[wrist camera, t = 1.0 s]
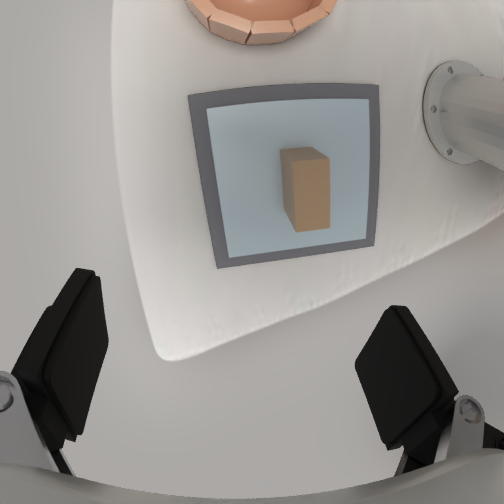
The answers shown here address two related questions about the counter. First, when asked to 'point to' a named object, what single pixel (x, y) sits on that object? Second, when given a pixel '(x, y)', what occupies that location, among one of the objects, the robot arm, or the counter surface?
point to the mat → (277, 93)
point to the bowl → (259, 18)
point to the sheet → (262, 174)
